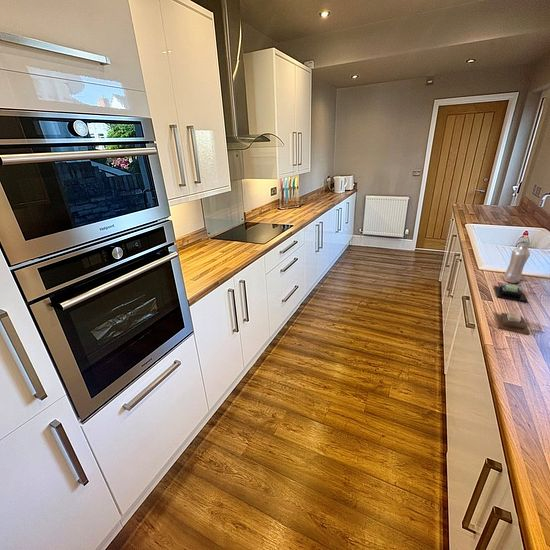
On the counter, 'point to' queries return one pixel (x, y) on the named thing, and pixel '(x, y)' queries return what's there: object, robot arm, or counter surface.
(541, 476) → the counter surface
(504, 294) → the keypad far
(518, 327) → the keypad near
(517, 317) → the key near
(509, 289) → the key far
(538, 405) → the counter surface
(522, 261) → the plastic bottle
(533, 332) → the counter surface
